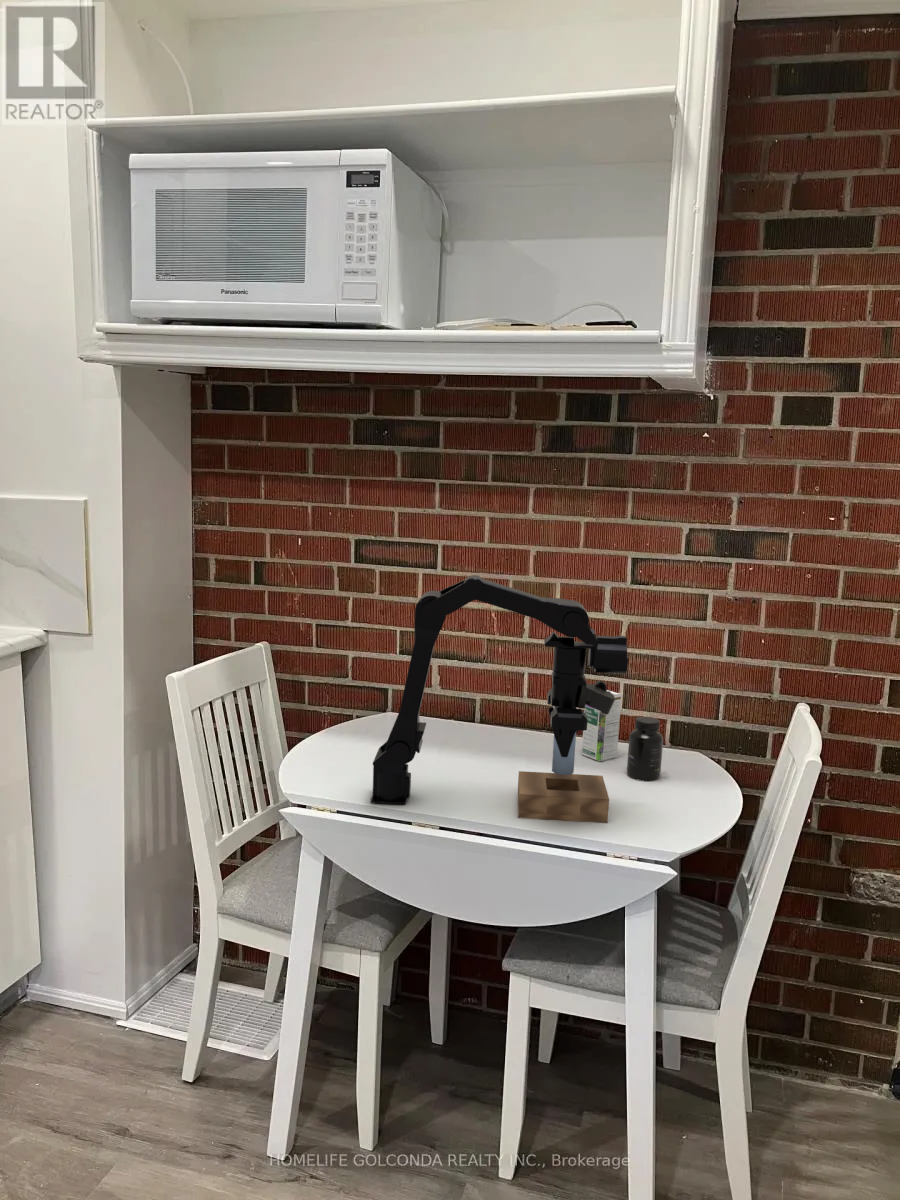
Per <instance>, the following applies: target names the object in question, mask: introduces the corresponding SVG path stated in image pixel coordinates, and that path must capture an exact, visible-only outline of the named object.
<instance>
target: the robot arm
mask: <svg viewBox="0 0 900 1200" xmlns="http://www.w3.org/2000/svg"><path fill="white" fill-rule="evenodd" d="M473 601H479V602H481V603H485V604H488V605H491V606H494V607H497V608H501V609H504V610H507V611H510V612H514V613H517V614H519V615H521V616H522V615H523V616H526V617H529V618H531V619H536V620H537V621H539V622H541V623H542V624H544V625H545V626H547V627H549V628H550V629H553V631H552V632H551V633H550V635H548V636H547V637H546V638H544V640H543V643H544V646H545V647H547V648H553V665H552V672H551V679H552V680H551V688H550V689H549V690H548V691H547V694H546V695H547V698H546V702H547V705H551V707H548V709H547V710H548V714H549V717H550V720H549V722H550V723H549V724H550V727H551V729H552V732H553V733H552V734H553V737H554V736H555V739H556V742H557V745H558V748H559V751H560V754H561V757H568V753H569V750H570V747H571V744H572V741H573V737H574V734H575V732H576V733H577V732H578V731H581V732H583V731H584V730H587V716H586V714H585V713H584V711H583V709H585V705H587V706H589V707H592V708H594V709H597V710H599V711H601V712H602V713H604V714H607V715H608V714H609V712H610V709H611V707H612V705H613V703H614V701H615V697H614V695H613V694H612V693H611V692H610V691H611V690H609V691H607V690H608V689H607V684H606V682H605V681H602V680H599V679H598V680H596V682H594V683H587V680H586V675H585V671H586V670H585V669H586V655H587V653H586V652H587V649H588V656H587V658H588V659H587V662H588V667H590V668H591V667H592V670H593V671H594V673H601V674H603V673H604V674H605V673H606V674H620V675H621V674H623V675H627V672H628V671H627V670H628V667H629V656H628V644H627V643H628V639H627V637H626V636H625V635H615V636H613V635H612V636H610V635H597V633H596V630H595V629H594V628H592V627H591V626H590V624H589V623H590V617H589V615H588V612H587V611H586V608H585V606H584V605H583V604H582V603H581V602H579V601H577V600H572V599H566V598H559V597H543V596H538V595H535V594H533V593H529V592H526V591H523V590H520V589H516V588H514V587H510V586H507V585H504V584H501V583H497V582H495V581H492V580H488V579H485V578H482V577H481V576H480V575H476V574H473V575H469V576H467V577H466V578H465V579H463V580H461V581H458V582H457V583H454V584H452V585H449V586H447V587H446V588H444V589H442V590H439V591H438V590H429V591H426V592H424V593H423V594H422V595H421V596H420V598H419V599H418V601H417V603H416V605H415V608H414V625H413V628H414V629H413V631H414V643H413V646H412V647H413V648H412V652H411V657H410V661H409V665H408V671H407V675H406V680H405V684H404V687H403V693H402V698H401V702H400V706H399V707H400V708H399V710H398V711H399V712H398V714H397V716H396V719H395V721H394V724H393V726H392V728H391V731H390V732H389V735H388V738H387V740H386V742H384V743H383V744H382V745H380V747H379V748H378V749H377V752H376V755H375V756H374V759H373V761H372V766H373V768H372V795H371V798H370V802H371V803H373V804H389V805H392V804H393V805H406V803H407V801H408V799H409V798H410V796H411V789H412V784H411V783H412V772H410V771H409V763H410V762H412V761H413V760H414V759H415V757H416V753H417V754H420V752H421V750H422V745H423V742H424V741H423V736H424V734H425V730H426V727H427V722H421V721H420V713H421V712H420V711H421V708H422V707H421V706H422V702H423V697H424V693H425V688H426V685H427V684H426V683H427V680H428V677H429V676H428V675H429V671H430V666H431V662H432V657H433V653H434V648H435V644H436V642H437V639H438V637H439V635H440V632H441V629H442V628H443V626H444V623H445V621H446V618H447V616H448V615H450V614H452V613H454V612H456V611H457V610H459V609H462V607H464V606H466V605H468V604H469V603H472V602H473ZM555 631H556V632H558V633H559V634H561V635H564V636H559V635H558V634H557V633H556V632H555ZM575 638H577V639H578V640H579V641H575Z"/></svg>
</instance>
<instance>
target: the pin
mask: <svg viewBox="0 0 900 1200" xmlns="http://www.w3.org/2000/svg"><path fill="white" fill-rule="evenodd" d="M576 737H577V732H575V734H574V737H573V741H572V744H571V747H570V750H569V753H568V757H561V754H560V751H559V748H558V745H557V742H556V739H555V736H554V735H553V743H552V744H553V746H552V747H553V748H552V759H551V760H552V763H551V764H552V765H551V773H556V774H560V775H570V774H575V773H574V772H575V757H576V742H577V741H576V740H577V738H576Z"/></svg>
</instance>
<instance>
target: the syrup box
mask: <svg viewBox="0 0 900 1200" xmlns="http://www.w3.org/2000/svg"><path fill="white" fill-rule="evenodd" d="M607 691H610V692H611V693H612V694H613V695H614V697H615V701H614V703H613V705H612V707H611V709H610V712H609V714H608V715H607V714H604V713H602V712H601V711H599V710H597V709H594V708H592V707H589V706H587V705H585V708H584V711H583V712H584V713H585V714H586V716H587V730H584V731H582V742H581V755H582V756H585V757H588V758H590V759H592V760H595V761H597V762H600V763H601V762H603V761H608V760H612V759H614V758H618V749H619V748H618V746H619V735H620V734H619V732H620V722H621V721H620V720H621V719H620V718H621V708H622V707H621V706H622V693H619V692H615V691H612V690H608V689H607Z"/></svg>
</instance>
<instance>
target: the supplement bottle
mask: <svg viewBox="0 0 900 1200" xmlns="http://www.w3.org/2000/svg"><path fill="white" fill-rule="evenodd" d="M660 728H661V727H660V720H659V719H657V718H655V717H653V716H652V717H651V716H638V717H636V718H635V724H634V730H632V731H631V732H630V734H629V737H628V751H627V762H626V763H627V764H626V774H627V775H628V776H629V777H630V778H631V779H635V780H637V779H638V781H642V780H644V781H643V782H652V781H657V780H658V779H659V778H660V777H661V771H662V761H663V760H662V759H663V758H662V757H663V745H664V738H663V734H661V733H660V732H659V731H660Z"/></svg>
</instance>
